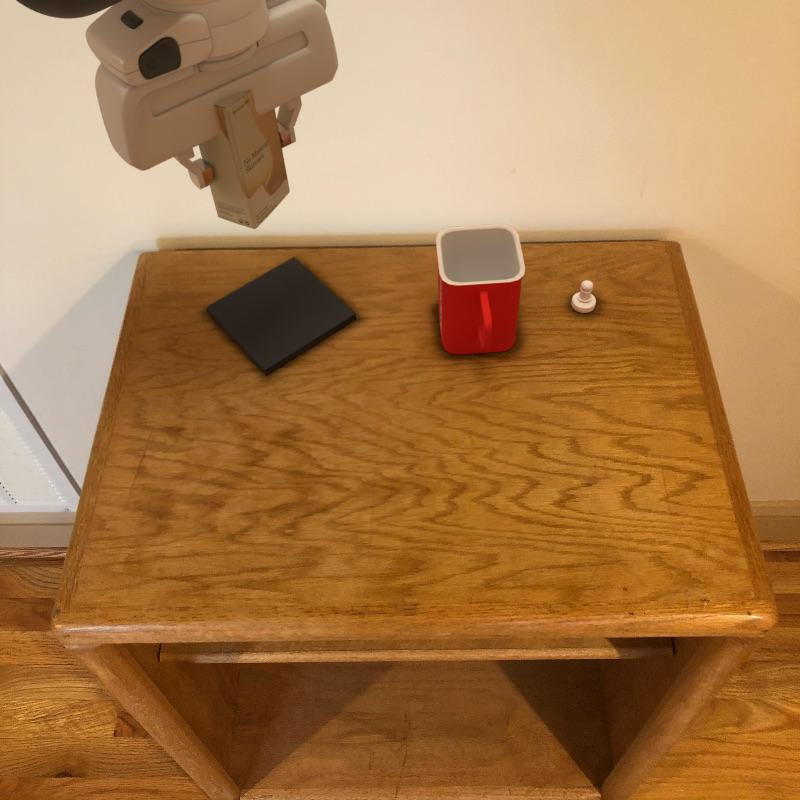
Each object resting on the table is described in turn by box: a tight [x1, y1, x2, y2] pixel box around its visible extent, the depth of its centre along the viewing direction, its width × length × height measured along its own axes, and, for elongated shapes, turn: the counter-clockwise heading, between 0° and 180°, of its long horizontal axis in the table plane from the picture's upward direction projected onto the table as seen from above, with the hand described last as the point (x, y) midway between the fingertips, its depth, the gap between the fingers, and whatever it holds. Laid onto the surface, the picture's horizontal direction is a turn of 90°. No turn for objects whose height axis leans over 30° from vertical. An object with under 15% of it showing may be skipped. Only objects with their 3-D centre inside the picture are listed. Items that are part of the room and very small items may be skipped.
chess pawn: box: [571, 279, 597, 314], centre depth 85 cm, size 3×3×4 cm
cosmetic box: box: [198, 89, 291, 230], centre depth 68 cm, size 6×4×12 cm
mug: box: [435, 223, 526, 355], centre depth 80 cm, size 12×8×11 cm
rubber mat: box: [205, 257, 357, 376], centre depth 87 cm, size 12×12×1 cm
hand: (244, 162), depth 69 cm, fingers closed on cosmetic box, 7 cm apart
